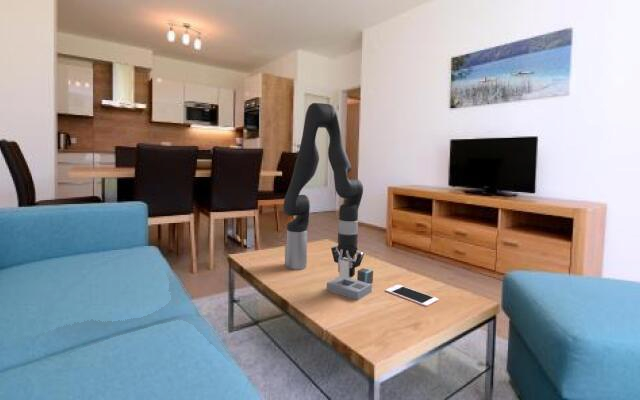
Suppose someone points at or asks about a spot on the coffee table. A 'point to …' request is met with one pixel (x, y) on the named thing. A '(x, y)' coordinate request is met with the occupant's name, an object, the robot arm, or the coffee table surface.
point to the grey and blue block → (365, 275)
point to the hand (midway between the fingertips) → (346, 275)
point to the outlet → (349, 287)
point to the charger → (344, 269)
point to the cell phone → (412, 295)
